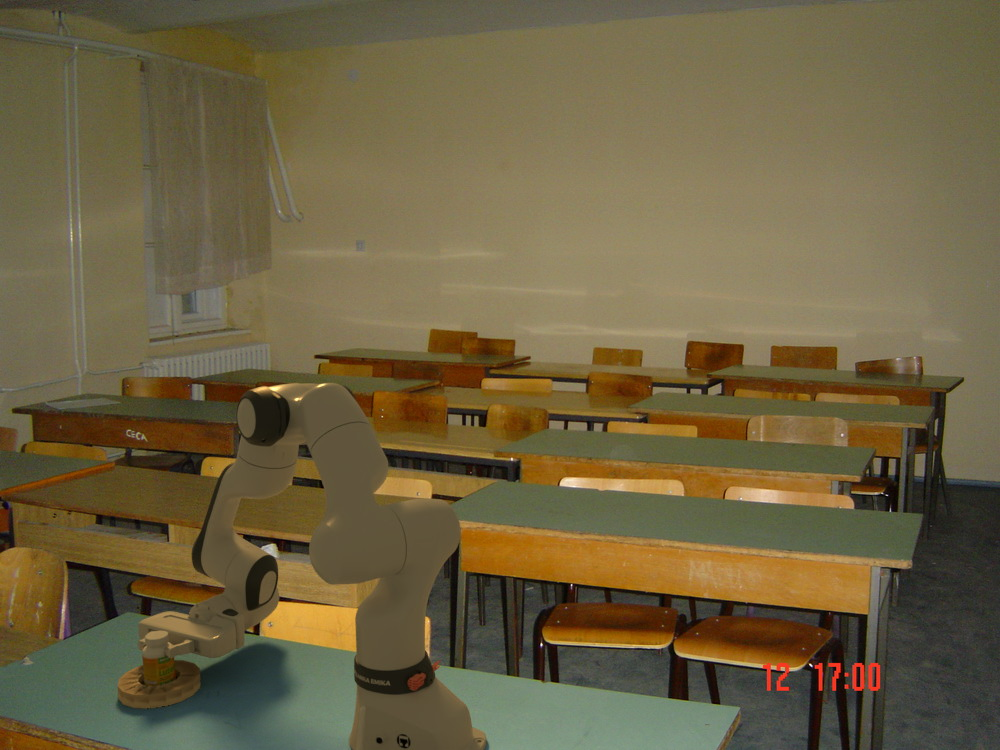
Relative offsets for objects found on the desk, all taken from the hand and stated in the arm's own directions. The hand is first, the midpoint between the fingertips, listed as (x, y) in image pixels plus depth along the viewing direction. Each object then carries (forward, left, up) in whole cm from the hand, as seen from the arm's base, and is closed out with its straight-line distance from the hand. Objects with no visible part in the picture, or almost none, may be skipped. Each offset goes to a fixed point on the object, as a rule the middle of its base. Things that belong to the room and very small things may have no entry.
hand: (153, 650), depth 168 cm
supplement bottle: (0, -1, -7) cm, 7 cm away
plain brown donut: (0, -1, -8) cm, 8 cm away
